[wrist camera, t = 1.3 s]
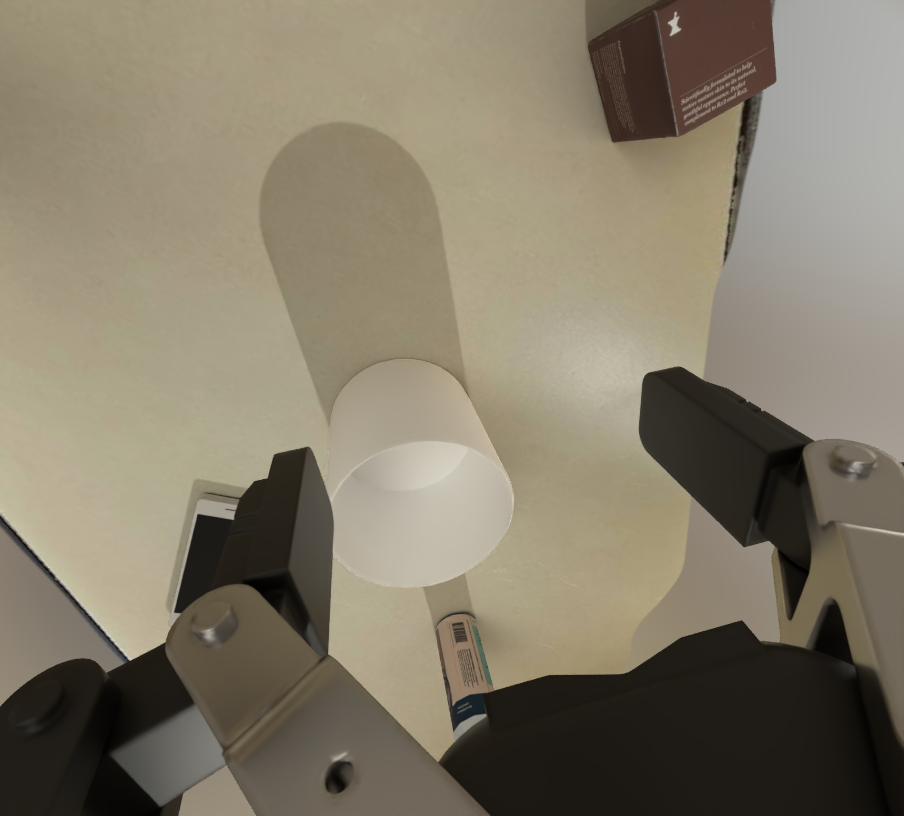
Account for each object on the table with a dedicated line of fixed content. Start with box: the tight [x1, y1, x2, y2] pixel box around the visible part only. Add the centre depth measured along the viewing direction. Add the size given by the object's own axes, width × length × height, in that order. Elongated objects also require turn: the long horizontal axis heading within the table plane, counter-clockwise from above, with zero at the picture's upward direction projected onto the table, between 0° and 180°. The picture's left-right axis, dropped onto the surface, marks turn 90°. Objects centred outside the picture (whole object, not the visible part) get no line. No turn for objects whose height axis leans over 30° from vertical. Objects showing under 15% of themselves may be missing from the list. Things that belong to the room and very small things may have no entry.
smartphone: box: [168, 493, 239, 627], centre depth 41 cm, size 7×15×1 cm, turn 157°
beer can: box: [435, 614, 494, 740], centre depth 46 cm, size 5×5×12 cm
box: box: [588, 0, 776, 142], centre depth 26 cm, size 6×6×7 cm
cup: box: [325, 359, 514, 588], centre depth 33 cm, size 12×12×12 cm
